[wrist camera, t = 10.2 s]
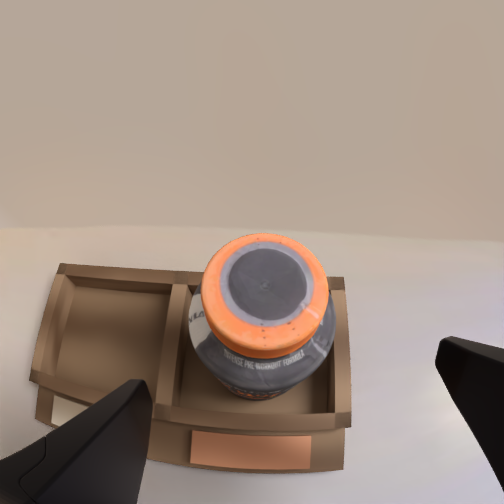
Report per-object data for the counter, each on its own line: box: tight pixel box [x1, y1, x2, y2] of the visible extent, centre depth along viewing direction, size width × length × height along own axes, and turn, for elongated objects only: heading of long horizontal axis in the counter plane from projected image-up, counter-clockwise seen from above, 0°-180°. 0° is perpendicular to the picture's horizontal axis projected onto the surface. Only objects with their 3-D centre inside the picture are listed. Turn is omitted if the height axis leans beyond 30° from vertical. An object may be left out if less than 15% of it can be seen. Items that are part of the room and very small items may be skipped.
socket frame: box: [29, 263, 351, 473], centre depth 17 cm, size 13×22×2 cm, turn 87°
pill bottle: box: [189, 233, 336, 401], centre depth 13 cm, size 6×6×11 cm
